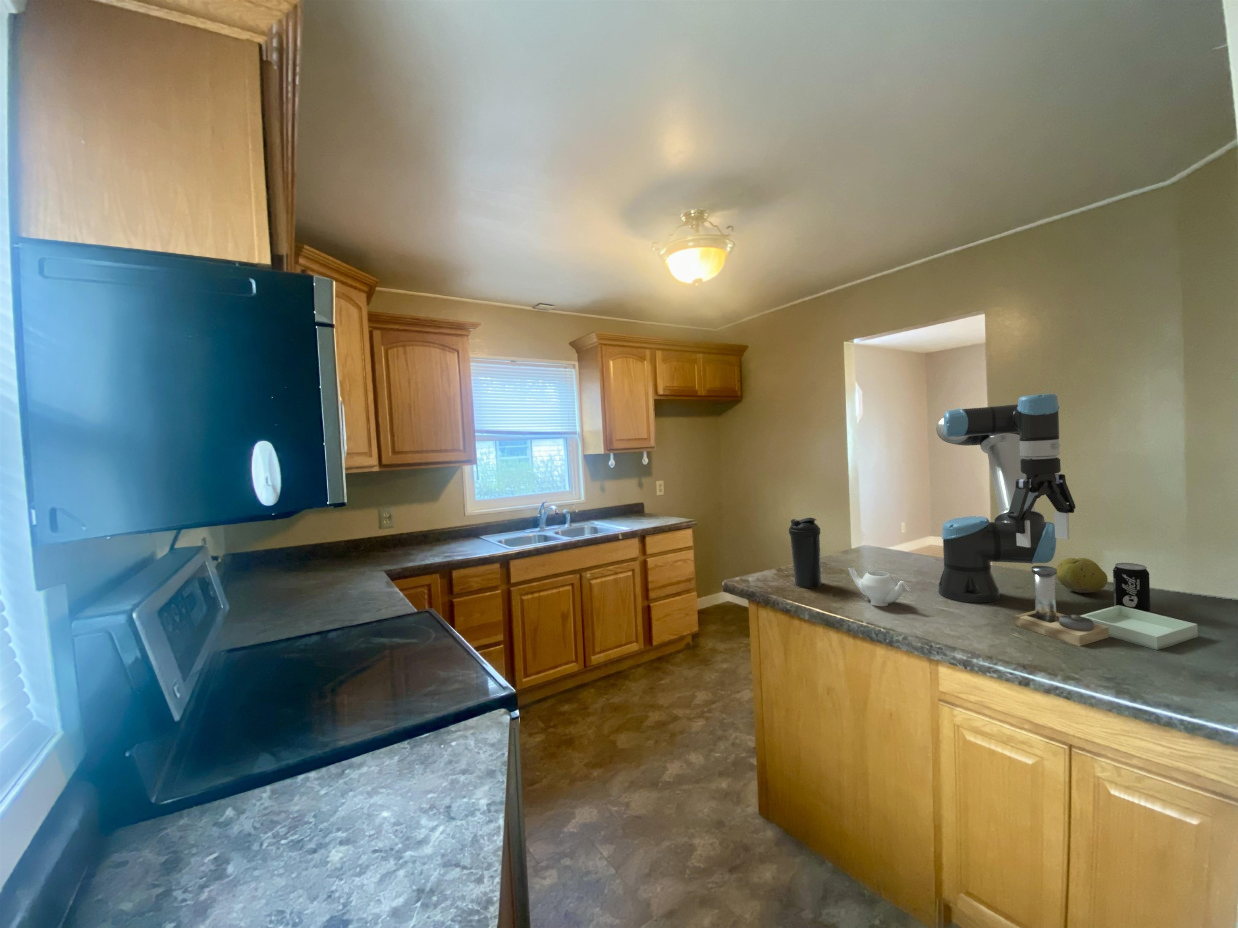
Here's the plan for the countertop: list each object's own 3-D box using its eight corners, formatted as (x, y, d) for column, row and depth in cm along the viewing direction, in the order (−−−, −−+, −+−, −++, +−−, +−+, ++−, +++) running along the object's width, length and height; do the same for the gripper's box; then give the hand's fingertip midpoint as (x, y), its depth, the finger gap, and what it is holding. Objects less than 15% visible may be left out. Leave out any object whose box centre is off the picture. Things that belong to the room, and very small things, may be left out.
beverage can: (1157, 615, 126) (1156, 568, 125) (1127, 615, 127) (1125, 569, 126) (1136, 605, 132) (1135, 561, 131) (1107, 606, 133) (1106, 562, 133)
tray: (1079, 627, 123) (1079, 615, 122) (1118, 616, 127) (1118, 605, 127) (1157, 650, 109) (1156, 636, 109) (1197, 636, 113) (1197, 624, 113)
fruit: (1050, 593, 145) (1049, 560, 145) (1062, 583, 152) (1061, 551, 152) (1103, 602, 136) (1101, 566, 136) (1112, 591, 143) (1111, 557, 143)
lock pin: (1029, 625, 126) (1026, 567, 125) (1042, 621, 128) (1040, 564, 127) (1050, 632, 122) (1047, 572, 121) (1063, 628, 123) (1061, 568, 122)
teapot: (902, 616, 138) (900, 584, 138) (840, 598, 156) (838, 569, 156) (922, 608, 143) (920, 576, 142) (860, 591, 161) (858, 563, 160)
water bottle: (828, 587, 167) (824, 520, 166) (798, 589, 168) (793, 522, 166) (817, 578, 178) (812, 515, 176) (788, 581, 178) (784, 517, 176)
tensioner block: (1015, 625, 127) (1014, 606, 127) (1042, 617, 130) (1041, 599, 130) (1079, 646, 114) (1078, 624, 113) (1108, 637, 116) (1108, 616, 116)
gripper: (1019, 462, 115) (1023, 552, 116) (1092, 452, 122) (1095, 537, 123) (987, 461, 122) (991, 546, 123) (1057, 452, 129) (1060, 532, 130)
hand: (1043, 542), depth 123 cm, fingers open, 13 cm apart
